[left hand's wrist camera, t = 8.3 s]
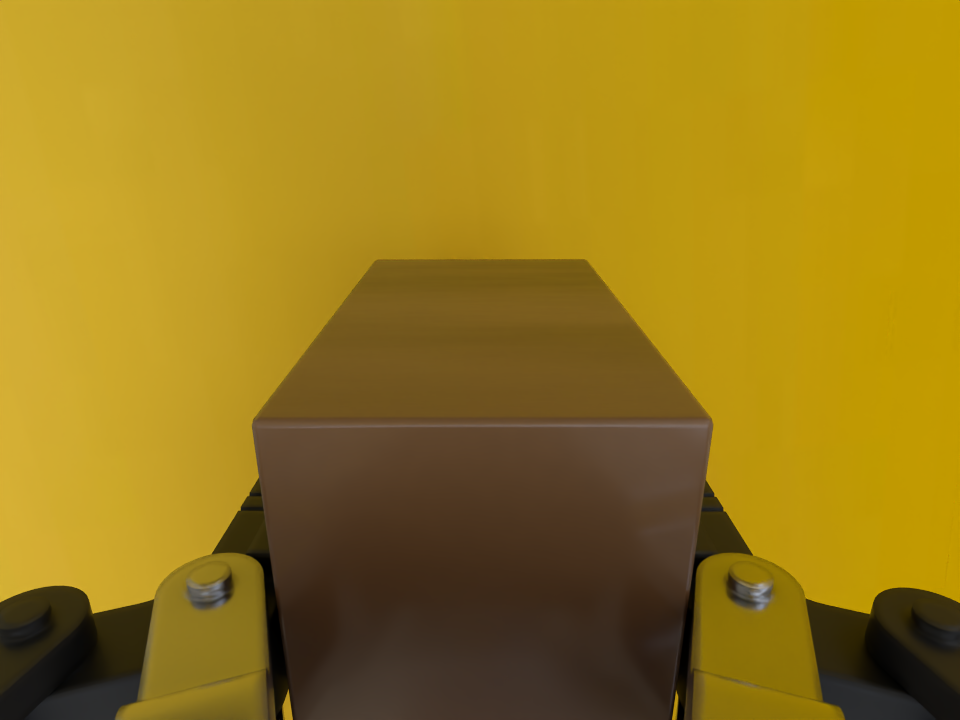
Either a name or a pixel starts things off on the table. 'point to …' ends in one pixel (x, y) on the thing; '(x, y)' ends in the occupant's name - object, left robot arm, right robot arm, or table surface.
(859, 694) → the left robot arm
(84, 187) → the table surface
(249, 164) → the table surface
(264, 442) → the bar
